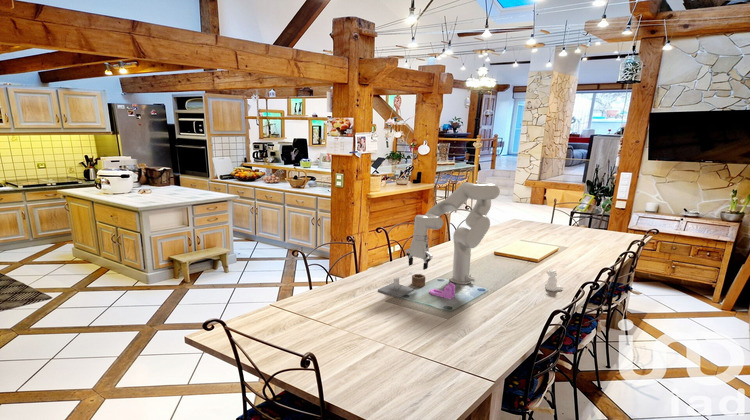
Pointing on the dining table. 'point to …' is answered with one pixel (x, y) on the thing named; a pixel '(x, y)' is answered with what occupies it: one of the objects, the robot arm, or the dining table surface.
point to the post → (396, 289)
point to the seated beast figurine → (552, 281)
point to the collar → (418, 280)
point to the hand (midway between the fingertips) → (417, 267)
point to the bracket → (445, 291)
